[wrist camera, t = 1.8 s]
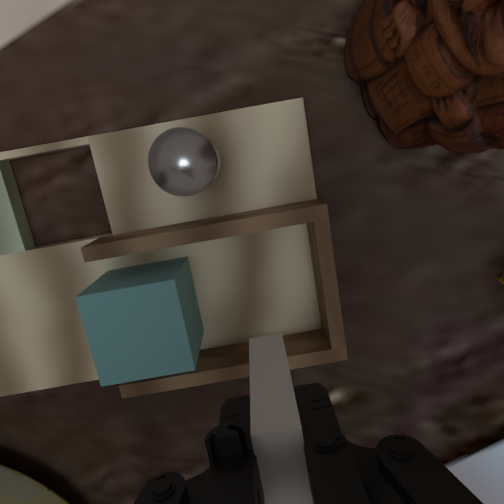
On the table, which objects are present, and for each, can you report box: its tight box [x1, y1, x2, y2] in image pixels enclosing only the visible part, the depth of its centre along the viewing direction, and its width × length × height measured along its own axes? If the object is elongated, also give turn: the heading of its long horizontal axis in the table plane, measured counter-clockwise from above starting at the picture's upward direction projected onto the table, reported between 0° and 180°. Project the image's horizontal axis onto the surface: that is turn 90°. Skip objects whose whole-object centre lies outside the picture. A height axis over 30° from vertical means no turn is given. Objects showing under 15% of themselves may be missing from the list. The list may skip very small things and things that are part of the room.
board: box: [0, 97, 322, 397], centre depth 30 cm, size 28×18×2 cm, turn 100°
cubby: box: [81, 199, 348, 399], centre depth 29 cm, size 16×11×4 cm
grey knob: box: [148, 127, 222, 197], centre depth 25 cm, size 4×4×7 cm
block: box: [75, 256, 204, 387], centre depth 27 cm, size 6×6×6 cm
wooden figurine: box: [345, 0, 504, 153], centre depth 20 cm, size 12×6×18 cm, turn 29°
